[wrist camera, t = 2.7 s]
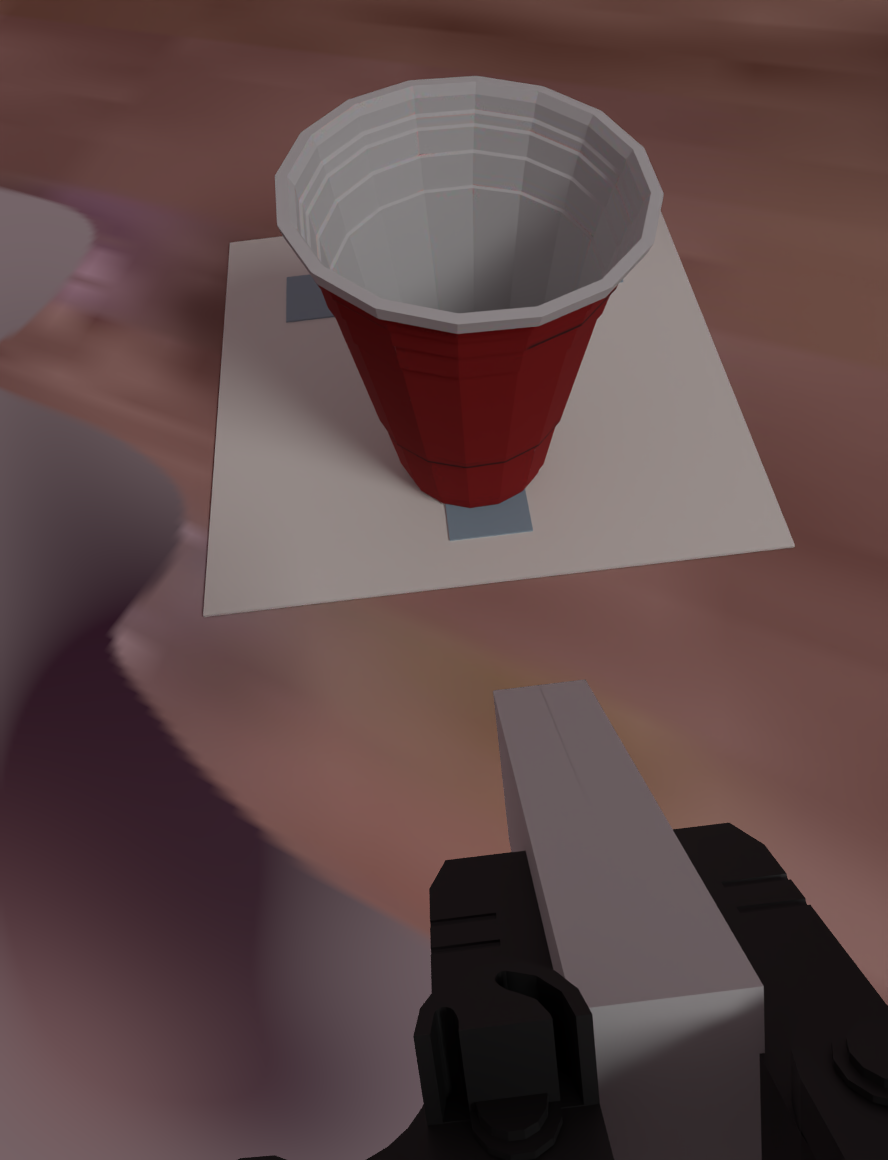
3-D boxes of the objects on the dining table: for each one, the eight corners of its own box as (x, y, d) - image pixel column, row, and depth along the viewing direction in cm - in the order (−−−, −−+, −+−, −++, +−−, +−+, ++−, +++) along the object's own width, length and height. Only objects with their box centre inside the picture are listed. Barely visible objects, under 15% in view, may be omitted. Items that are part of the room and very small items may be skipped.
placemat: (652, 193, 40) (652, 190, 39) (794, 547, 28) (795, 544, 28) (230, 244, 40) (229, 241, 40) (204, 616, 28) (202, 614, 28)
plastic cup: (552, 609, 27) (582, 353, 17) (297, 510, 30) (193, 242, 20) (650, 401, 32) (720, 102, 22) (421, 333, 35) (388, 43, 25)
